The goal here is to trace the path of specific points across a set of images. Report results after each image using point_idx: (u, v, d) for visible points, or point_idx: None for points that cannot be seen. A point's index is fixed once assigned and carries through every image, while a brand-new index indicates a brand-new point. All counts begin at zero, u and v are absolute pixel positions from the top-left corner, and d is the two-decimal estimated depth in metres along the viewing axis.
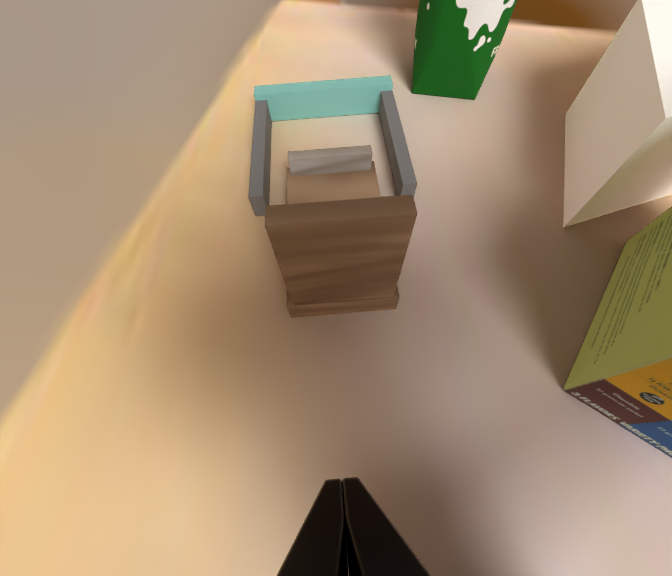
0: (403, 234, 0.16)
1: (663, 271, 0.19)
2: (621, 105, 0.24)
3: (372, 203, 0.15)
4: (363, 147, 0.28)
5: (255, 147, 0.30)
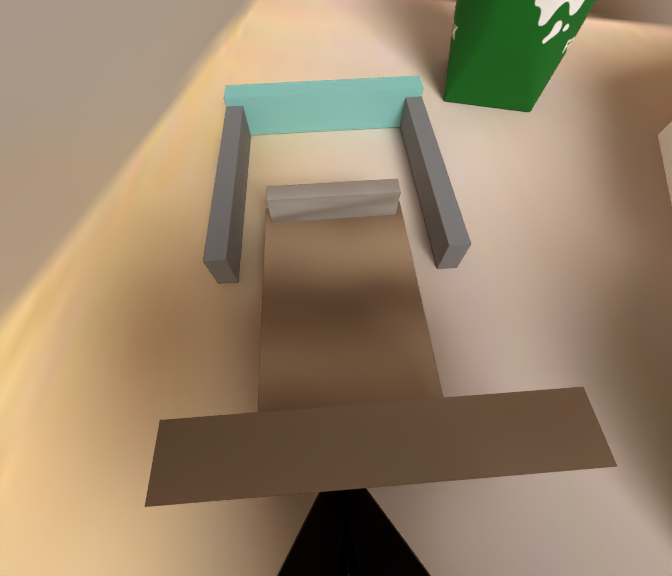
0: None
1: None
2: None
3: (473, 418, 0.05)
4: (386, 182, 0.18)
5: (220, 176, 0.20)
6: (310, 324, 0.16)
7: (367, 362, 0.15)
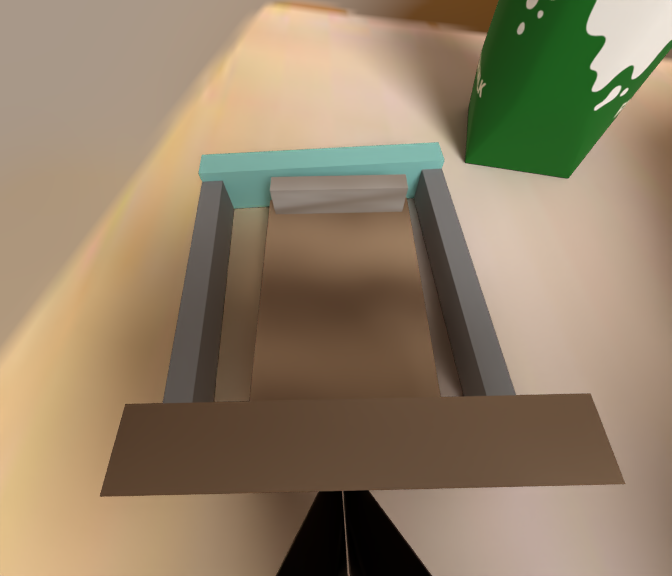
0: None
1: None
2: None
3: (465, 421, 0.05)
4: (393, 177, 0.17)
5: (188, 288, 0.16)
6: (308, 318, 0.15)
7: (364, 361, 0.14)
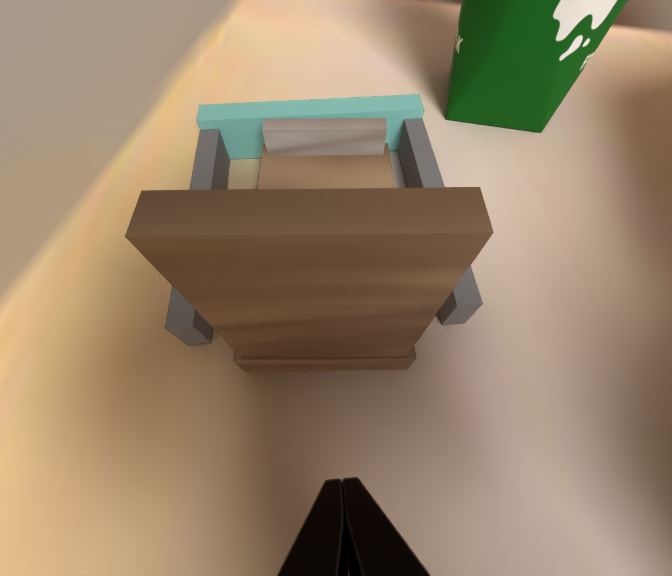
0: (447, 273, 0.08)
1: None
2: None
3: (386, 201, 0.07)
4: (374, 120, 0.19)
5: None
6: None
7: None
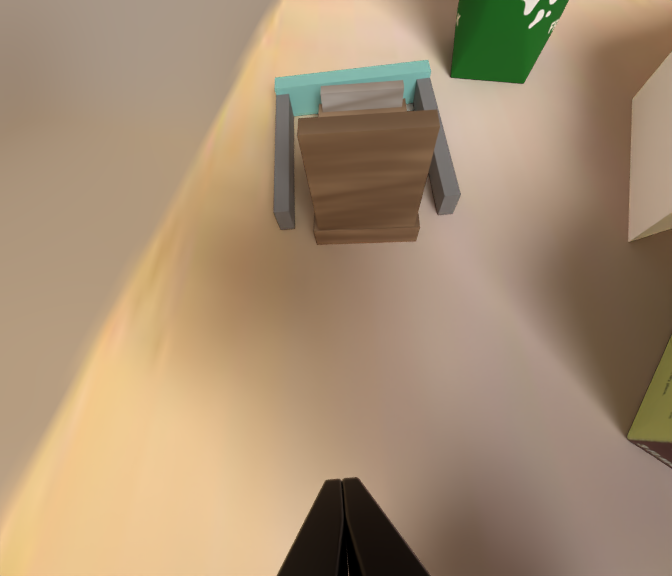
0: (426, 151, 0.17)
1: None
2: None
3: (397, 117, 0.16)
4: (395, 82, 0.28)
5: (278, 152, 0.27)
6: None
7: None
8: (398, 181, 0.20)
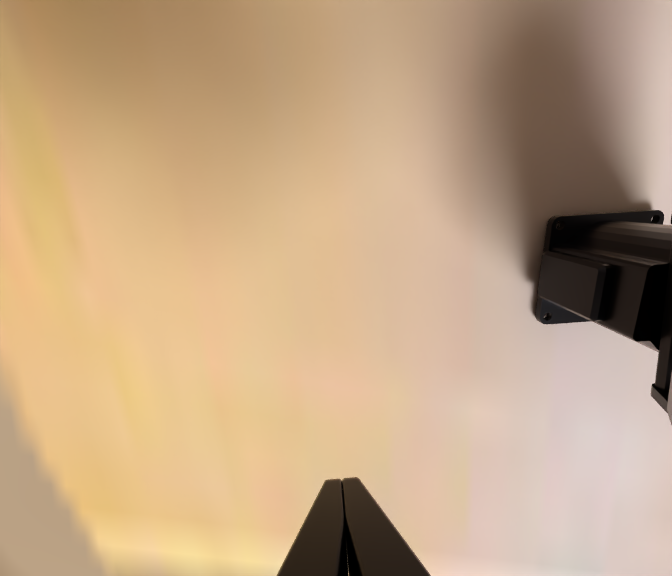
0: None
1: None
2: None
3: None
4: None
5: None
6: None
7: None
8: None
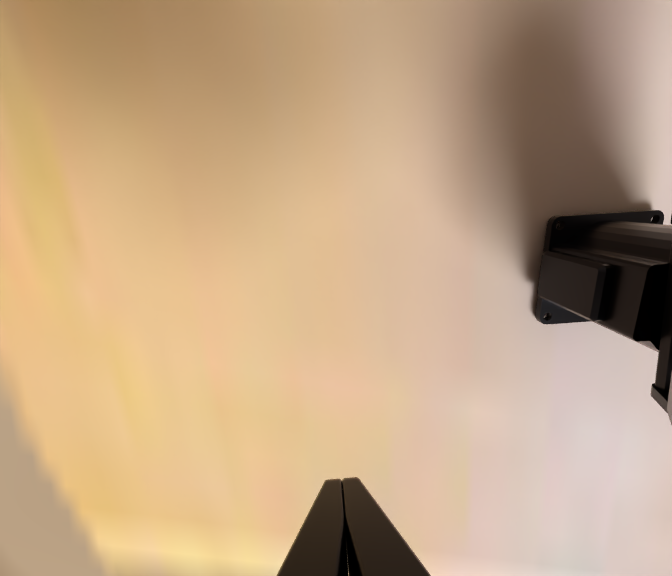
0: None
1: None
2: None
3: None
4: None
5: None
6: None
7: None
8: None
